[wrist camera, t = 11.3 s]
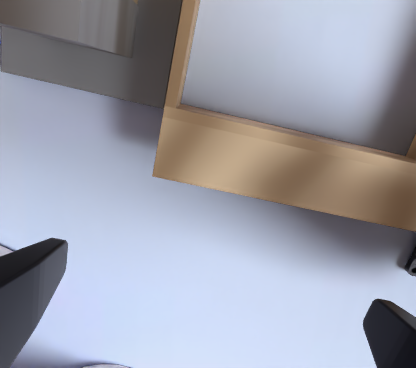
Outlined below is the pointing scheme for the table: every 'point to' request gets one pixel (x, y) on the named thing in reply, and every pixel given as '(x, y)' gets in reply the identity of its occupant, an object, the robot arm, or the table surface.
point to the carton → (278, 157)
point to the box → (76, 22)
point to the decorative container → (105, 366)
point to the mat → (102, 58)
